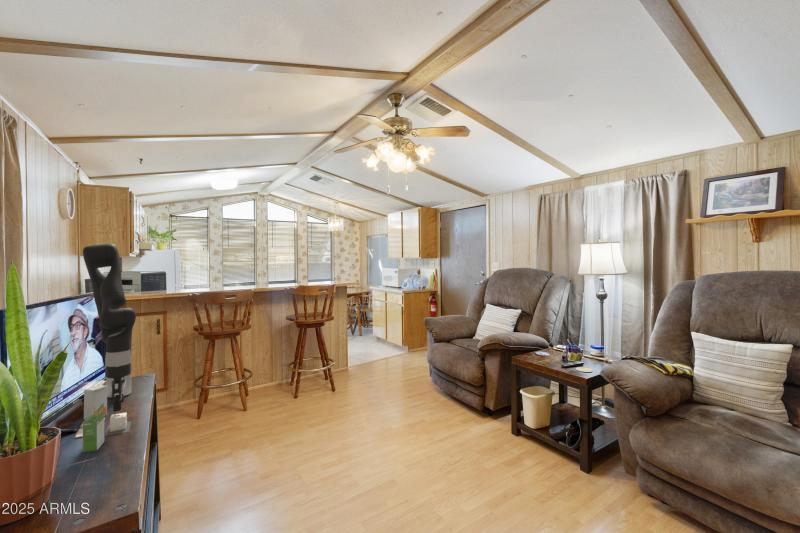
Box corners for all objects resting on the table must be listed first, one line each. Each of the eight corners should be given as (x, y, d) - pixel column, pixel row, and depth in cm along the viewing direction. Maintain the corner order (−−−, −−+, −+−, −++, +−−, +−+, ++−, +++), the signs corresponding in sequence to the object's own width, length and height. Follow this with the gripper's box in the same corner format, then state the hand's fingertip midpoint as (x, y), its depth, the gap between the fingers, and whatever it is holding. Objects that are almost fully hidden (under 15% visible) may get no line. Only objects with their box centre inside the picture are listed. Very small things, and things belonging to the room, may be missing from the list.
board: (82, 423, 140) (82, 421, 140) (105, 419, 143) (105, 417, 143) (74, 439, 127) (74, 437, 127) (100, 434, 131) (100, 432, 131)
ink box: (90, 443, 124) (90, 404, 124) (104, 441, 126) (104, 402, 126) (82, 453, 118) (81, 411, 118) (97, 451, 120) (97, 409, 119)
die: (111, 426, 136) (111, 414, 136) (126, 424, 139) (126, 412, 139) (110, 431, 132) (110, 419, 132) (125, 428, 135) (125, 416, 135)
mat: (108, 426, 137) (108, 425, 137) (131, 422, 141) (131, 421, 141) (104, 437, 129) (104, 436, 129) (129, 432, 133) (129, 431, 133)
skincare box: (92, 421, 141) (92, 390, 141) (83, 420, 142) (83, 389, 142) (107, 415, 147) (107, 385, 147) (99, 414, 148) (99, 384, 148)
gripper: (107, 359, 139) (108, 402, 139) (102, 369, 127) (102, 415, 127) (132, 357, 143) (132, 398, 143) (129, 365, 131) (129, 411, 131)
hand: (118, 406), depth 135 cm, fingers open, 8 cm apart
